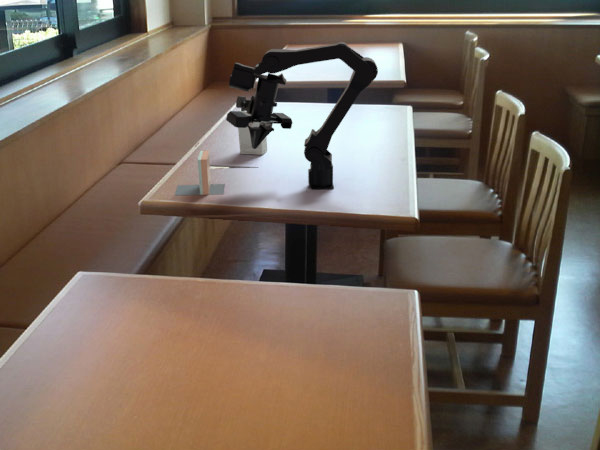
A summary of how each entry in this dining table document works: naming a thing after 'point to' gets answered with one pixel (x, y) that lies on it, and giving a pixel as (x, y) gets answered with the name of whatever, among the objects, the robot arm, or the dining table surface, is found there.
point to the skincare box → (246, 141)
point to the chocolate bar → (227, 167)
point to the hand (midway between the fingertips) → (253, 148)
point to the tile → (204, 172)
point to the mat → (196, 189)
